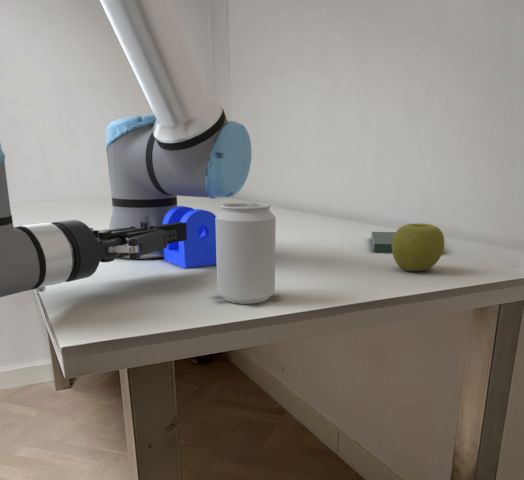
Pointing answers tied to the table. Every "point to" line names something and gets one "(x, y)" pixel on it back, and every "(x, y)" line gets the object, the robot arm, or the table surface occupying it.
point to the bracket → (192, 238)
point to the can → (245, 252)
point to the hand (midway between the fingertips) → (182, 231)
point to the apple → (417, 246)
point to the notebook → (382, 241)
